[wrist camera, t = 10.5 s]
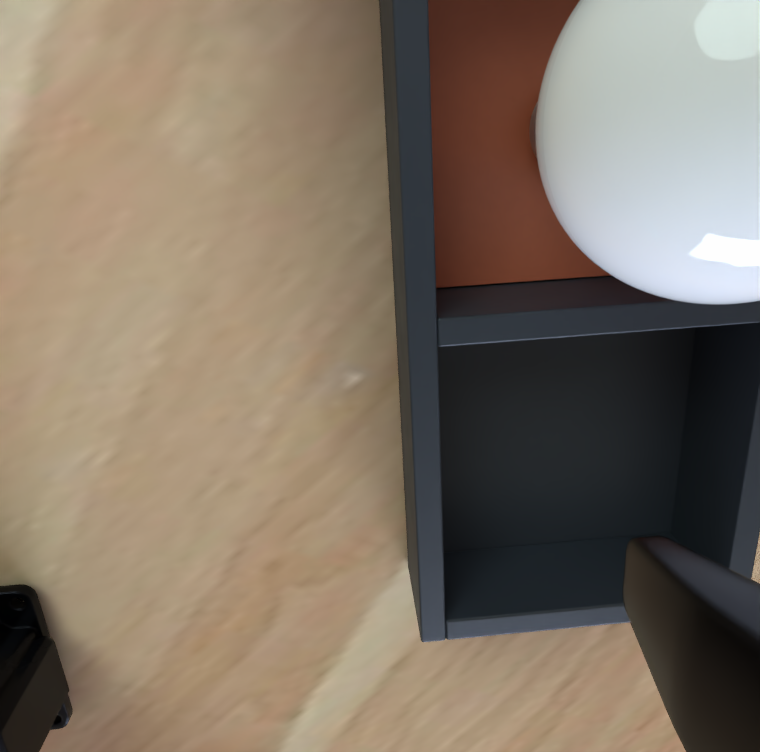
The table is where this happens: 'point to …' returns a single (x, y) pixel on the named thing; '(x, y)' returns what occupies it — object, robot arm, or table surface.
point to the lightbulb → (657, 143)
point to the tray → (539, 355)
